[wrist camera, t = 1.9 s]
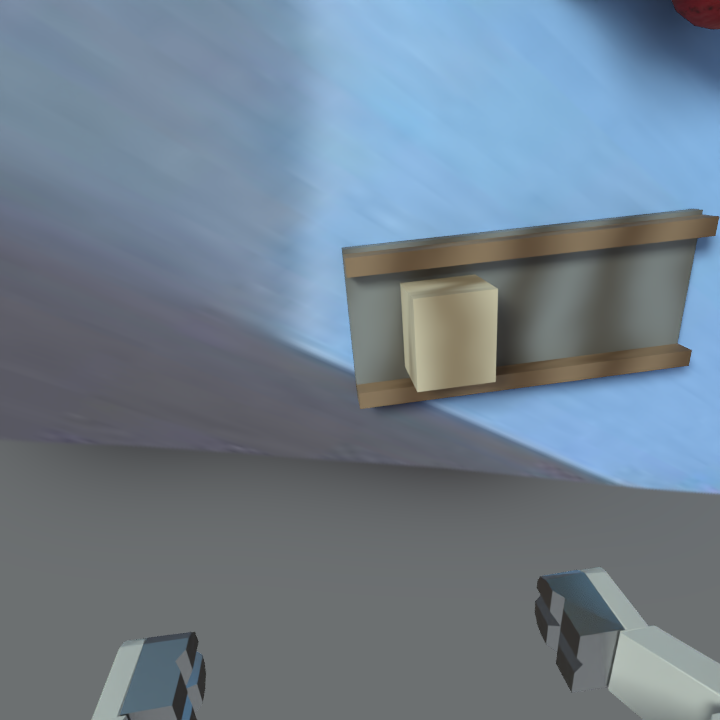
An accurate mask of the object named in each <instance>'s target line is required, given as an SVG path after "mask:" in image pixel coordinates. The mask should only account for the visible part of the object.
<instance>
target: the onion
mask: <svg viewBox="0 0 720 720" xmlns="http://www.w3.org/2000/svg"><path fill="white" fill-rule="evenodd" d="M672 3H673V5H674V8H675V10H676V11H677V12H678V13H679V14H680V15H682V16H683V17H684V18H686V19H687V20H688V21H689V22H691V23H692V24H693V25H694V26H699V27H704V28H708V29H720V0H672Z"/></svg>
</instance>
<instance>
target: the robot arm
mask: <svg viewBox="0 0 720 720" xmlns="http://www.w3.org/2000/svg"><path fill="white" fill-rule="evenodd" d="M537 589H538V591H539V593H540V597H539V598H538V599H537V600H536V601H535V616H536V620H537V625H538V628H539V630H540V633H541V635H542V637H543V639H544V641H545V643H546V645H548V646H549V647H550V648H552V649H553V650H554V651H556V652H557V659H556V664H557V666H558V668H559V670H560V672H561V674H562V676H563V678H564V679H565V681H566V683H567V685H568V687H569V689H570V691H571V693H573V692H579V691H586V690H593V689H600V688H607V687H609V688H608V690H609V691H610V692H612V693H613V694H614V695H615V696H616V697H617V698H618V699H620V700H621V701H622V702H623V703H624V704H625V705H627V706H628V707H629V708H630V709H631V710H632V711H634V712H635V713H636V714H637V715H638V716H639V717H641V718H642V719H643V720H720V664H719V663H717V662H715V661H714V660H712V659H711V658H709V657H707V656H706V655H704V654H702V653H701V652H699V651H697V650H695V649H694V648H692V647H691V646H689V645H687V644H685V643H684V642H682V641H680V640H679V639H677V638H675V637H674V636H672V635H670V634H668V633H667V632H665V631H663V630H662V629H660V628H658V627H657V626H648V625H647V623H646V622H645V621H644V619H643V618H642V617H641V616H640V614H639V613H638V612H637V611H636V609H635V608H634V607H633V606H632V604H631V603H630V601H629V600H628V599H627V598H626V596H625V595H624V594H623V593H622V591H621V590H620V589H619V587H618V586H617V585H616V584H615V582H614V581H613V580H612V578H611V577H610V576H609V575H608V573H607V572H606V571H605V570H604V569H603V568H601V567H596V568H590V569H584V570H574V571H568V572H563V573H557V574H551V575H546V576H540V578H539V579H538V581H537ZM197 647H198V639H197V636H196V633H195V632H189V633H181V634H173V635H165V636H157V637H151V638H143V639H136V640H129V641H125V642H124V643H123V644H122V646H121V647H120V648H119V650H118V653H117V656H116V658H115V660H114V663H113V666H112V668H111V671H110V674H109V676H108V679H107V681H106V684H105V686H104V689H103V692H102V694H101V697H100V699H99V702H98V705H97V707H96V710H95V712H94V715H93V717H92V720H197V719H196V716H195V713H196V711H197V710H198V709H199V707H200V706H201V705H202V703H203V699H204V693H205V682H206V669H205V662H204V658H203V655H201V654H200V653H198V652H197Z"/></svg>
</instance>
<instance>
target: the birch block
mask: <svg viewBox="0 0 720 720" xmlns="http://www.w3.org/2000/svg"><path fill="white" fill-rule="evenodd" d="M400 288H401V305H402V322H403V340H404V357H405V368H406V370H407V372H408V374H409V376H410V378H411V380H412V382H413V384H414V386H415V388H416V390H417V392H423V391H430V390H438V389H446V388H453V387H461V386H469V385H476V384H484V383H492V382H496V350H497V312H498V288H496V287H494V286H493V285H491V284H490V283H488V282H486V281H485V280H483V279H482V278H480V277H478V276H477V275H475V274H474V275H465V276H457V277H448V278H439V279H431V280H422V281H413V282H405V283H400Z"/></svg>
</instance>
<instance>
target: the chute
mask: <svg viewBox="0 0 720 720" xmlns="http://www.w3.org/2000/svg"><path fill="white" fill-rule="evenodd" d="M702 211H703V210H699V209H688V210H679V211H670V212H661V213H652V214H643V215H634V216H625V217H616V218H606V219H597V220H588V221H579V222H570V223H561V224H552V225H543V226H534V227H525V228H516V229H507V230H498V231H489V232H480V233H471V234H462V235H452V236H443V237H434V238H425V239H416V240H407V241H398V242H389V243H380V244H371V245H362V246H353V247H344V248H342V255H343V264H344V274H345V283H346V293H347V302H348V312H349V321H350V331H351V340H352V349H353V359H354V368H355V378H356V387H357V397H358V402H359V405H360V409H364V408H371V407H379V406H386V405H394V404H402V403H409V402H417V401H424V400H432V399H439V398H447V397H455V396H462V395H470V394H477V393H485V392H493V391H500V390H508V389H515V388H523V387H530V386H538V385H546V384H553V383H561V382H568V381H576V380H583V379H591V378H599V377H606V376H614V375H621V374H629V373H636V372H644V371H652V370H659V369H667V368H674V367H682V366H689V361H690V356H691V352H692V350H690V349H688V348H686V347H684V346H682V345H679V344H677V342H678V337H679V332H680V327H681V321H682V316H683V311H684V306H685V300H686V295H687V290H688V285H689V280H690V274H691V269H692V264H693V259H694V253H695V248H696V243H697V238H701V237H709V236H715V235H716V230H717V225H718V220H719V216H710V215H702ZM474 274H475V275H477V276H478V277H480V278H482V279H483V280H485V281H486V282H488V283H490V284H491V285H493V286H494V287H496V288H498V312H497V350H496V382H492V383H484V384H476V385H469V386H461V387H453V388H446V389H438V390H430V391H423V392H417V390H416V388H415V386H414V384H413V382H412V380H411V378H410V376H409V374H408V372H407V370H406V368H405V357H404V340H403V322H402V305H401V288H400V283H405V282H413V281H422V280H431V279H439V278H448V277H457V276H465V275H474Z"/></svg>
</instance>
